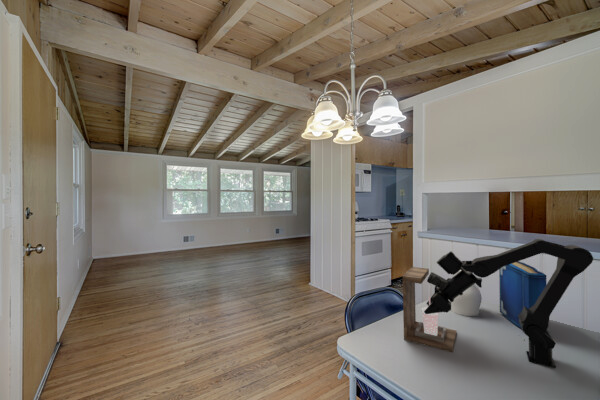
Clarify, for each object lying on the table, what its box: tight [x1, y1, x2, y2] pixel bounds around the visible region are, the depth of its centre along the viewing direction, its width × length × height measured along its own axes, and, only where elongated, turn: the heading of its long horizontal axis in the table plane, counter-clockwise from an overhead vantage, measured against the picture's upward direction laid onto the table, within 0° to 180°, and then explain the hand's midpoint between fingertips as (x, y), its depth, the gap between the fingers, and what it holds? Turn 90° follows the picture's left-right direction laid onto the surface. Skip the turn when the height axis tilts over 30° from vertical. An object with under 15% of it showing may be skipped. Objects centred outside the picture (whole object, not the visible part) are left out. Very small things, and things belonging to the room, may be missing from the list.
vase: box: [449, 270, 483, 317], centre depth 126 cm, size 14×14×20 cm
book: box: [498, 261, 547, 330], centre depth 111 cm, size 22×7×25 cm, turn 168°
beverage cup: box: [421, 296, 440, 336], centre depth 103 cm, size 6×6×14 cm
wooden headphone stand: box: [402, 266, 457, 353], centre depth 103 cm, size 16×16×24 cm
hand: (426, 308), depth 104 cm, fingers open, 9 cm apart
